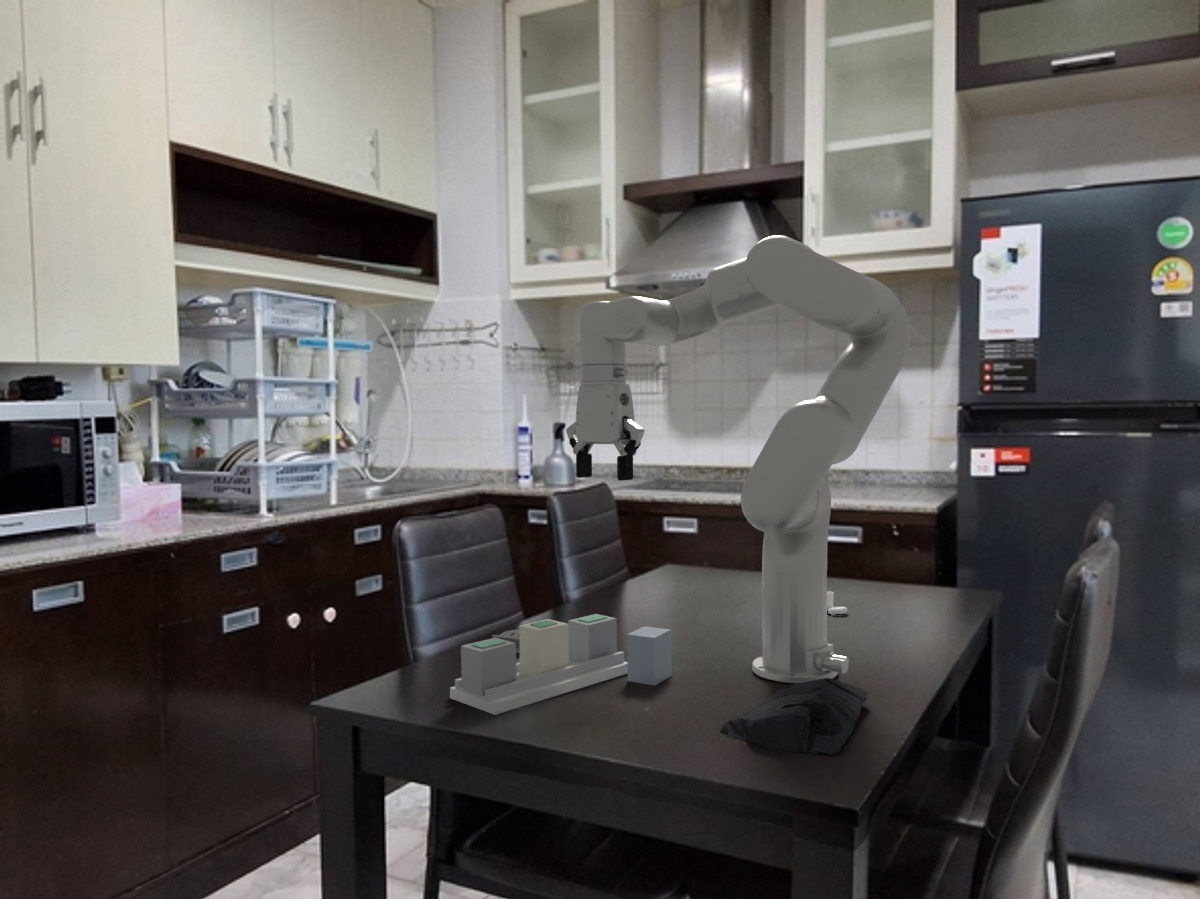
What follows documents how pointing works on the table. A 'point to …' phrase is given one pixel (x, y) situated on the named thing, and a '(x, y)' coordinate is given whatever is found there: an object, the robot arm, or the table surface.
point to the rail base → (542, 684)
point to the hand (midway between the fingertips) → (604, 478)
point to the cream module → (543, 647)
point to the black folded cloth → (801, 717)
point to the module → (649, 655)
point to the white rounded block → (830, 605)
